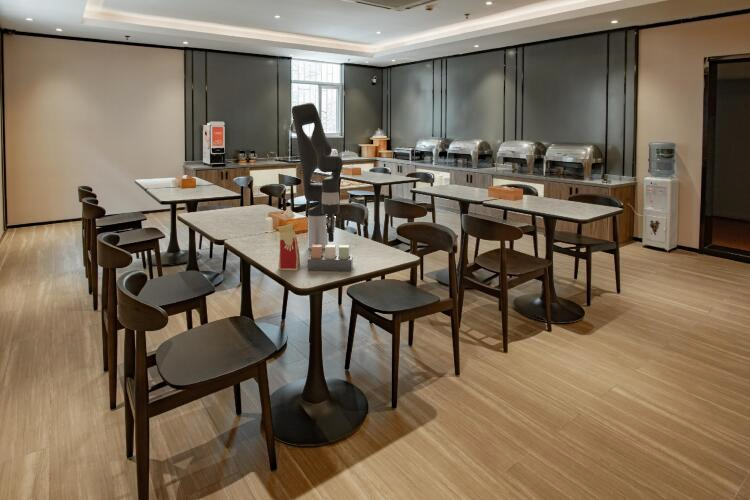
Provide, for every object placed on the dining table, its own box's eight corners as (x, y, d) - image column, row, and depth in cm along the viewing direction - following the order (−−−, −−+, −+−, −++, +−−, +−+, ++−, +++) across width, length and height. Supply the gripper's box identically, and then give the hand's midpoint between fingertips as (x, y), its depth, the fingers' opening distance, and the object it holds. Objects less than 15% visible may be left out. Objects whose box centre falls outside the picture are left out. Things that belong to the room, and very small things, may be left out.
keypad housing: (307, 270, 222) (307, 259, 220) (310, 265, 230) (310, 254, 229) (351, 271, 221) (351, 260, 220) (352, 265, 230) (352, 255, 229)
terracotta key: (311, 263, 223) (311, 246, 221) (313, 260, 227) (312, 244, 226) (321, 263, 223) (321, 246, 221) (322, 260, 227) (322, 244, 225)
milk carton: (300, 264, 230) (299, 221, 226) (297, 270, 221) (296, 225, 217) (279, 264, 230) (278, 221, 225) (276, 270, 221) (275, 225, 216)
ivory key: (325, 263, 223) (325, 247, 221) (326, 261, 227) (326, 244, 225) (334, 263, 223) (334, 247, 221) (335, 261, 227) (335, 245, 225)
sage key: (338, 263, 223) (338, 247, 221) (339, 261, 227) (339, 245, 225) (348, 263, 223) (348, 247, 221) (349, 261, 227) (349, 245, 225)
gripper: (323, 199, 225) (324, 238, 230) (319, 204, 212) (320, 245, 217) (340, 200, 225) (340, 238, 229) (337, 204, 212) (338, 245, 217)
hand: (331, 241), depth 223 cm, fingers closed
